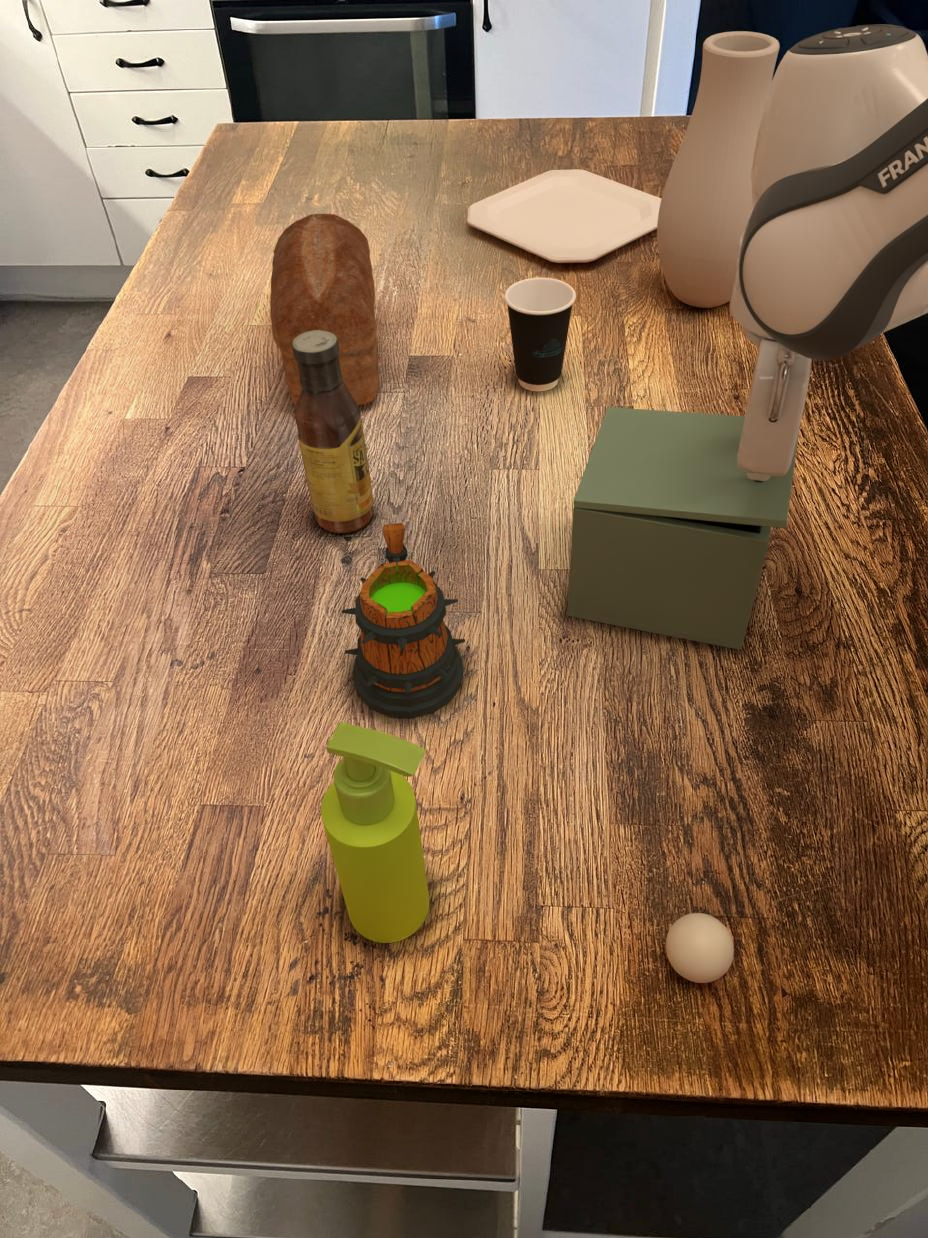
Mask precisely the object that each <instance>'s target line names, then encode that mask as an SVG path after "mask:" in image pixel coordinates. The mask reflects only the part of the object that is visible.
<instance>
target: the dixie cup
mask: <svg viewBox="0 0 928 1238" xmlns="http://www.w3.org/2000/svg"><path fill="white" fill-rule="evenodd" d="M503 298H504V302H505V303H506V305H507V312H508V313H507V314H508V323H509V329H510V336H511V345H512V354H513V361H514V362H513V363H514V369H515V375H516V378H517V381H518V385H520V386H521V387H522V388H523V389H525V390H527V391H531V392H546V391H549V390H552V389H554V388H555V387H557V385H558V383H559V380H560V378H561V376H562V372H563V366H564V360H565V355H566V354H565V353H566V347H567V341H568V335H569V329H570V323H571V316H572V310H573V304H574V303H575V301H576V299H577V294H576V291H575V289H574V287H572V286H571V285H570V284H569V283H567V282H565V281H563V280H560V279H557V278H553V277H531V278H525V279H521V280H519V281H516V282H514V283H513V284H511V285H510V286H509V287H507V288H506V290H505V291H504V297H503Z"/></svg>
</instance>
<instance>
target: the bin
mask: <svg viewBox="0 0 928 1238" xmlns="http://www.w3.org/2000/svg"><path fill="white" fill-rule="evenodd" d="M571 525H572V526H571V543H570V559H569V560H570V561H569V578H568V579H569V580H568V594H567V595H568V597H567V611H566V616H567V617H571V618H576V619H581V620H585V621H586V620H587V621H592V622H595V623H601V624H607V625H611V626H617V627H622V628H627V629H632V630H636V631H642V632H646V633H651V634H656V635H662V636H668V637H672V638H677V639H681V640H687V641H693V642H698V643H704V644H708V645H712V646H717V647H724V648H728V649H732V650H733V649H734V650H738V651H741V650H742V648H743V644H744V640H745V636H746V633H747V629H748V625H749V621H750V617H751V613H752V609H753V606H754V602H755V598H756V595H757V590H758V587H759V583H760V579H761V575H762V571H763V567H764V565H765V559H766V555H767V551H768V547H769V544H770V539H771V532H772V527H767V526H756V525H746V524H736V523H726V522H716V521H706V520H695V519H685V518H675V517H665V516H655V515H645V514H634V513H624V512H614V511H604V510H594V509H584V508H575V507H574V506H573V509H572V524H571Z"/></svg>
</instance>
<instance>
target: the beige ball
mask: <svg viewBox="0 0 928 1238" xmlns="http://www.w3.org/2000/svg"><path fill="white" fill-rule="evenodd" d="M734 949H735V946H734V941H733V938H732V935H731V934H730V931H729V930H728V928H727V927H726V926H725V925H724V923H723V922H722V921H720V920H719V919H717V918H716V917H714V916H712V915H710V914H707V913H703V912H693V913H692V912H691V913H687V914H685V915H682V916H681V917H680V918H677V920H675V921H674V922H673V924H671V926H670V928H669V929H668V932H667V934H666V938H665V953H666V957H667V960H668V962H669V963H670V965H671V967H672V969H673V970H674V971H675V972H676V973H677V974H678V975H679V976H680V977H682V978H684V979H685V980H687V981H689V982H693V983H697V984H707V983H711V982H715V981H717V980H719V979H721V978H722V977H723V976H724V975H725V974H726V973H727V972H728V971H729V969H730V967H731V966H732V963H733V960H734V956H735V950H734Z"/></svg>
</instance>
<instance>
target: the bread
mask: <svg viewBox="0 0 928 1238" xmlns="http://www.w3.org/2000/svg"><path fill="white" fill-rule="evenodd" d="M368 240H369V239H368V238H367V236H366V235H365V234H364V233H363V232H362V230H361V229H360V228H359V227H357V226H356V225H355V224H353V223H352V222H350V221H349V220H347V219H345V218H343V217H341V216H340V215H337V214H335V213H312V214H308V215H306V216H304V217H303V218H300V219H298V220H295V221H293V223H291V224H290V225H288V226H287V227H286V228H285V229H284V230H283V231H282V233H281V234H280V236H279V237H278V238H277V240H276V244H275V247H274V250H273V256H272V261H271V262H272V263H271V264H272V265H271V266H272V269H271V278H270V296H269V303H270V304H269V305H270V306H269V307H270V308H269V309H270V310H269V314H270V325H271V334H272V337H273V338H272V339H273V340H274V341H273V342H274V343H275V345H276V347H277V348H278V349H279V351H280V355H281V360H282V365H283V369H284V370H283V371H284V375H285V381H286V382H285V383H286V386H287V389H288V393H289V396H290V399H291V401H292V403H293V404H294V406H295V405H296V401H297V400H298V398H299V395H300V393H301V391H302V386H301V384H300V379H301V378H300V373H299V368H298V363H297V361H296V360H295V357H294V353H293V347H292V342H293V340H294V339H295V338H296V337H297V336H299V335H301V334H302V333H305V332H308V331H313V330H322V331H327V332H330V333H332V334H334V335H335V336H336V337H337V340H338V345H339V355H338V358H339V363H340V371H341V374H342V380H343V381H344V383H345V385H346V387H347V389H348V390H349V392H350V394H351V396H352V397H353V399H354V400H355V402H356V404H357V405H358V407H359V406H363V405H366V404H370V403H372V401H374V399H375V398H376V396H377V394H378V391H379V388H380V370H379V369H380V368H379V357H378V340H377V339H378V337H377V321H376V313H375V302H376V301H375V300H376V292H375V291H376V290H375V279H374V274H373V265H372V261H371V249H370V245H369V241H368Z"/></svg>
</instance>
